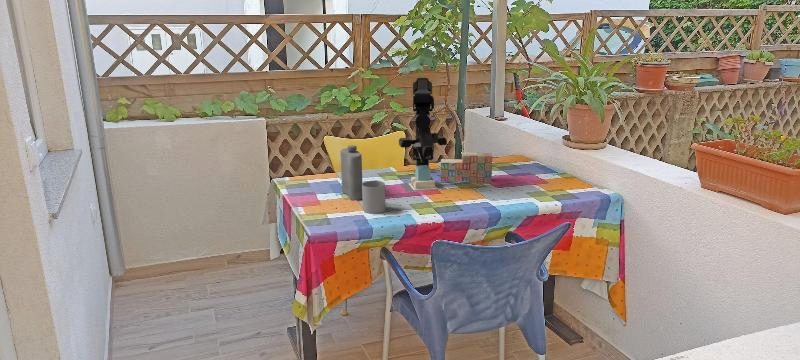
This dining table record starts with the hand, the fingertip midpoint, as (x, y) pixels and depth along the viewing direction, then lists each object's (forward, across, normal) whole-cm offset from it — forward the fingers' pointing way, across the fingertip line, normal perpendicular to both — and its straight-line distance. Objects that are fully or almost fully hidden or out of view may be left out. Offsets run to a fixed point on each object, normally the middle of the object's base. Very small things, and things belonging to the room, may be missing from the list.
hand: (422, 162), depth 235 cm
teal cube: (+7, 0, 0) cm, 7 cm away
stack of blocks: (+11, +20, +5) cm, 24 cm away
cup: (+11, -24, -22) cm, 34 cm away
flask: (+11, -29, -2) cm, 31 cm away
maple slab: (+10, 0, 0) cm, 10 cm away
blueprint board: (+11, 0, 0) cm, 11 cm away
